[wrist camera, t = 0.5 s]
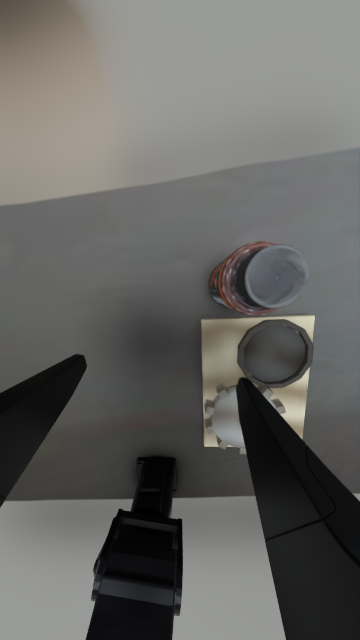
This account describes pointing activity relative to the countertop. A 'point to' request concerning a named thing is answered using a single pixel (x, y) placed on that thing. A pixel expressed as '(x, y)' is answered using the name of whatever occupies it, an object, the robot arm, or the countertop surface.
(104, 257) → the countertop surface
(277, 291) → the supplement bottle
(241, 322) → the gear board
